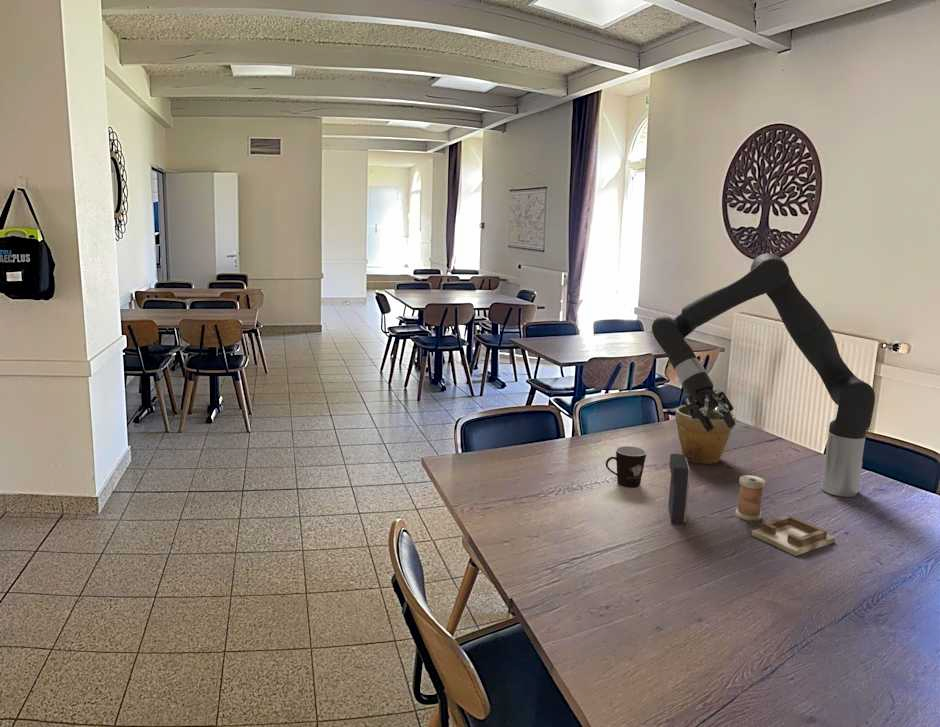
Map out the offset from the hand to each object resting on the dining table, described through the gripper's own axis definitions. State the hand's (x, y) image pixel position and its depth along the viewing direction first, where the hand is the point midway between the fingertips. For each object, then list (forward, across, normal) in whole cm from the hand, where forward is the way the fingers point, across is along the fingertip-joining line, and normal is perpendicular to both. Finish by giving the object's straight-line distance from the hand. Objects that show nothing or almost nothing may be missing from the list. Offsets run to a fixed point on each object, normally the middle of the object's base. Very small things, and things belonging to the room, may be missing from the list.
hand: (721, 428), depth 187 cm
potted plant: (-3, +23, +32) cm, 40 cm away
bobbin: (+23, -1, +6) cm, 24 cm away
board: (+33, -2, -4) cm, 33 cm away
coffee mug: (+1, -15, +29) cm, 32 cm away
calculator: (+17, -18, +13) cm, 27 cm away
